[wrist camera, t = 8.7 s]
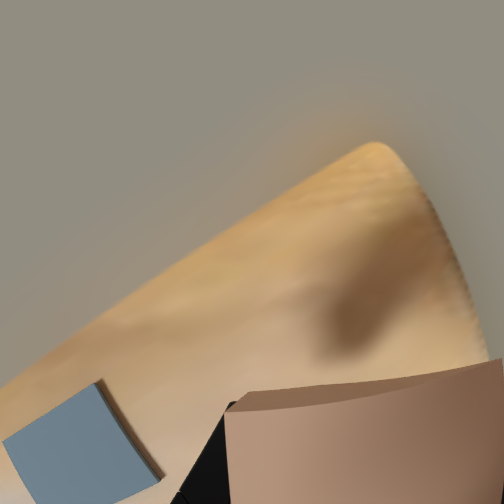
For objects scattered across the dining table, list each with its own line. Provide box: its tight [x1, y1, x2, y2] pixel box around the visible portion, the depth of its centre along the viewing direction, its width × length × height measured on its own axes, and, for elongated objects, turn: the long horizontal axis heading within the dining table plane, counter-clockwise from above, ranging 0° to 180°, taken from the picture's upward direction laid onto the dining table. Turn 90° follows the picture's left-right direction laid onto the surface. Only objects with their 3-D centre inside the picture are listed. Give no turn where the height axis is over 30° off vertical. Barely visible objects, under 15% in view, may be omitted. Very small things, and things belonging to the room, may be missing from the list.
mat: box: [2, 383, 161, 504], centre depth 17 cm, size 13×9×1 cm
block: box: [224, 358, 504, 504], centre depth 8 cm, size 4×4×12 cm
